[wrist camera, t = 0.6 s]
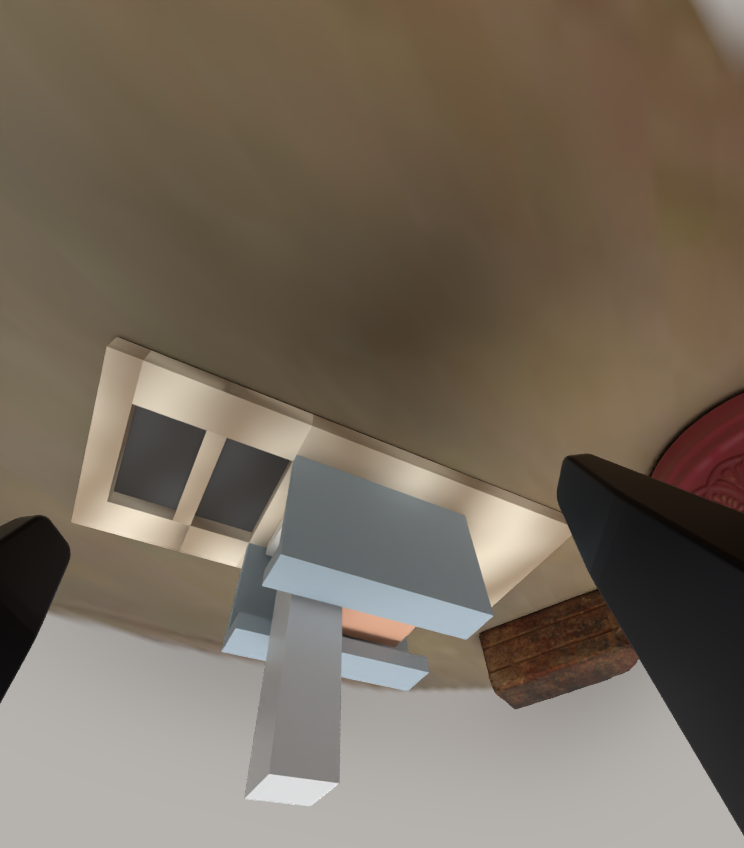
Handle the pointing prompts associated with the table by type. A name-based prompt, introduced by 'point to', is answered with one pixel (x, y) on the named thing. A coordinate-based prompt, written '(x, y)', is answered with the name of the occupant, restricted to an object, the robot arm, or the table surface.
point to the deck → (261, 470)
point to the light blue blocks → (363, 570)
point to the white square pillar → (305, 695)
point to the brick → (556, 651)
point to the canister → (710, 457)
